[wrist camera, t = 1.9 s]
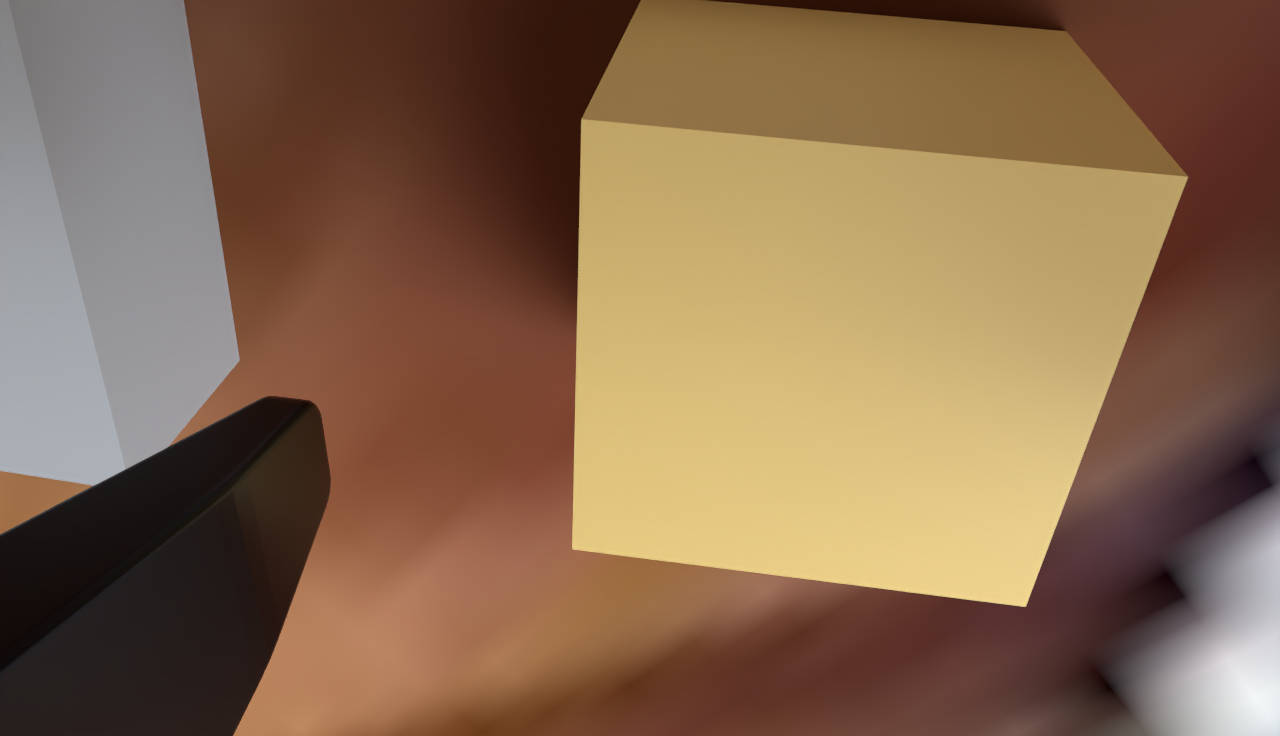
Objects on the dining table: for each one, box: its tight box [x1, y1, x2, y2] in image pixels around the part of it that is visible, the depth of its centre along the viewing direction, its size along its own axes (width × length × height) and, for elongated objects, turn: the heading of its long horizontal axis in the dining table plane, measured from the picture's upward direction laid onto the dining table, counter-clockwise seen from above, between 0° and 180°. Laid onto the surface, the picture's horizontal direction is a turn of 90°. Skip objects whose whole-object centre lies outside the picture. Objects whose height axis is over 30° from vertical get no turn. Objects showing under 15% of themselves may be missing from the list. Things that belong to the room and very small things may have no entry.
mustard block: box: [572, 0, 1188, 607], centre depth 12 cm, size 5×5×4 cm
